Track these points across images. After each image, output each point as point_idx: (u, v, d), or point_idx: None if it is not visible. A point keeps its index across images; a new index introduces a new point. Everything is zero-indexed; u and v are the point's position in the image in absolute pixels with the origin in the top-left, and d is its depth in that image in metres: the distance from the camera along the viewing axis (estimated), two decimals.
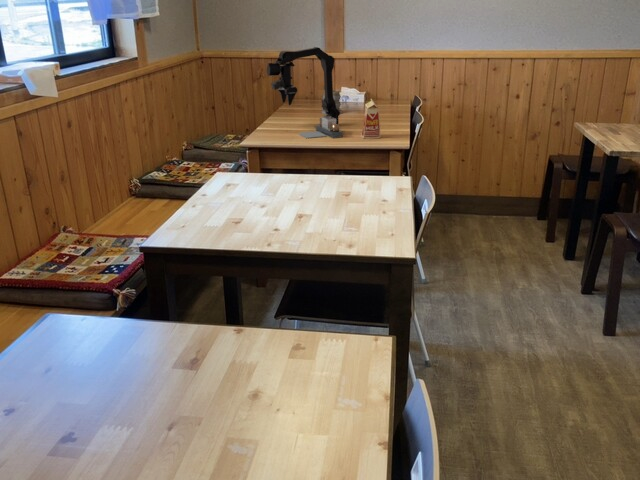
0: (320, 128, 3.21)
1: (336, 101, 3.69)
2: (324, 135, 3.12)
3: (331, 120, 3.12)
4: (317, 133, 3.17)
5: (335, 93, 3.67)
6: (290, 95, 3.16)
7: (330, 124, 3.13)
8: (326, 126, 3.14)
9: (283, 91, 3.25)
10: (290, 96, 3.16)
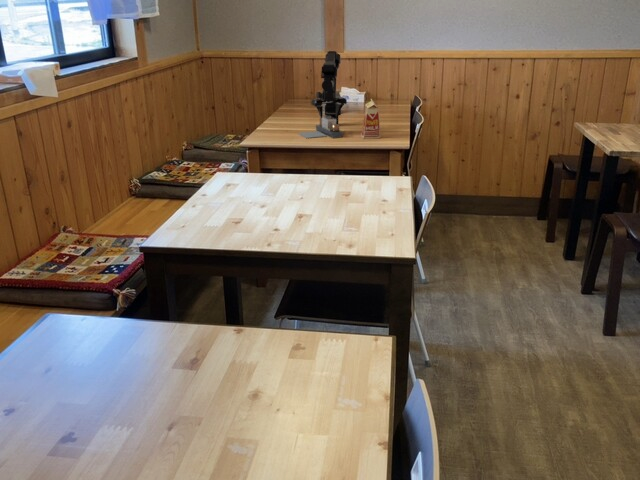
0: (320, 128, 3.21)
1: None
2: (324, 135, 3.12)
3: (331, 120, 3.12)
4: (317, 133, 3.17)
5: None
6: (319, 108, 3.11)
7: (330, 124, 3.13)
8: (326, 126, 3.14)
9: (337, 105, 3.15)
10: None
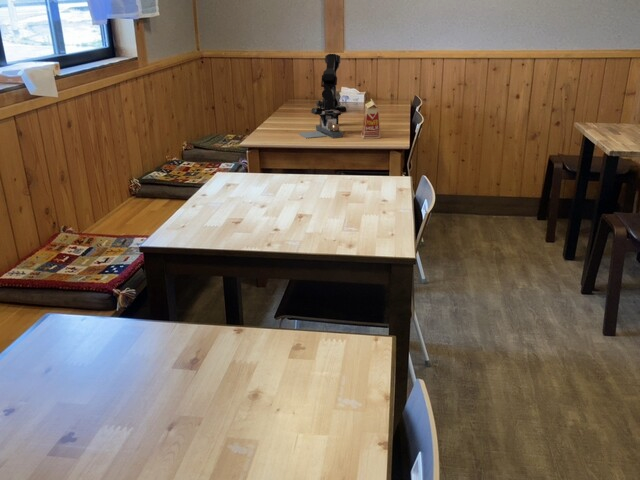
0: (320, 128, 3.21)
1: None
2: (324, 135, 3.12)
3: (331, 120, 3.12)
4: (317, 133, 3.17)
5: None
6: (322, 116, 3.13)
7: (330, 124, 3.13)
8: (326, 126, 3.14)
9: (334, 114, 3.16)
10: (322, 117, 3.14)
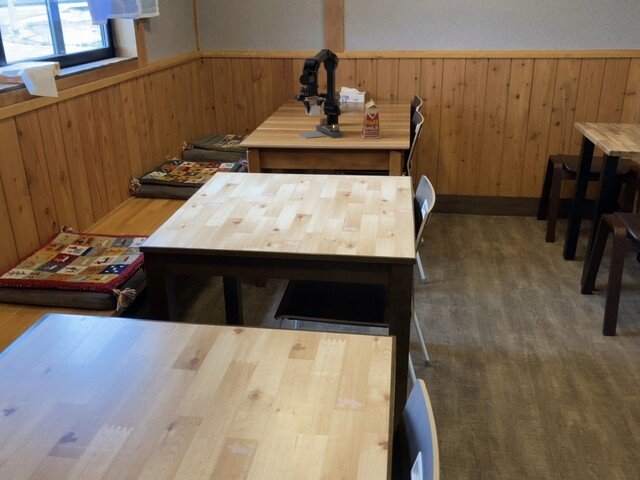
0: (320, 128, 3.21)
1: None
2: (324, 135, 3.12)
3: (315, 107, 3.05)
4: (317, 133, 3.17)
5: (335, 93, 3.67)
6: (306, 103, 3.07)
7: (314, 111, 3.06)
8: (310, 113, 3.07)
9: (318, 101, 3.09)
10: (306, 104, 3.07)
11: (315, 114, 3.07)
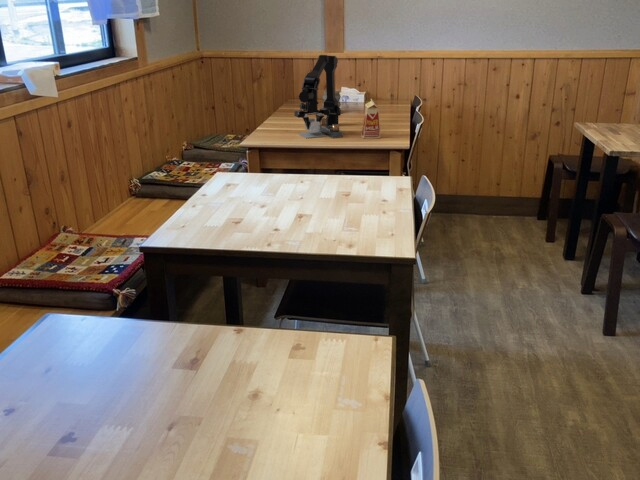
0: (320, 128, 3.21)
1: None
2: (324, 135, 3.12)
3: (314, 123, 3.09)
4: (317, 133, 3.17)
5: (335, 93, 3.67)
6: (305, 119, 3.10)
7: (313, 127, 3.09)
8: (309, 129, 3.11)
9: (317, 117, 3.12)
10: (305, 120, 3.10)
11: (315, 130, 3.10)
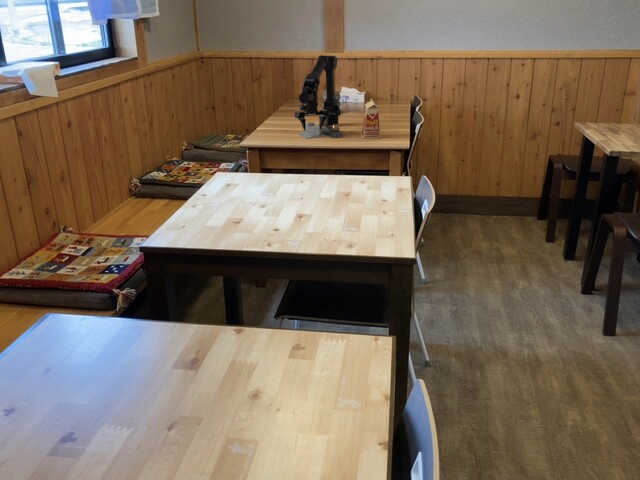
0: None
1: None
2: (324, 135, 3.12)
3: (314, 127, 3.10)
4: None
5: (335, 93, 3.67)
6: None
7: (313, 131, 3.10)
8: (309, 133, 3.12)
9: (320, 118, 3.13)
10: (302, 122, 3.10)
11: (315, 134, 3.11)
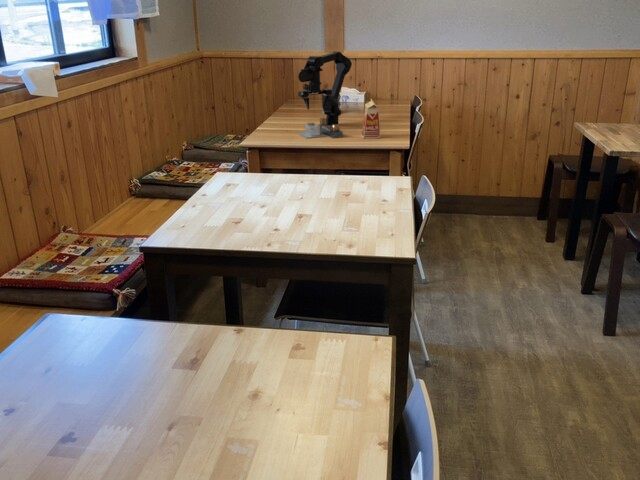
0: (320, 128, 3.21)
1: None
2: (324, 135, 3.12)
3: (314, 127, 3.10)
4: None
5: None
6: (306, 100, 3.20)
7: (313, 131, 3.10)
8: (309, 133, 3.12)
9: (323, 96, 3.24)
10: (306, 100, 3.20)
11: (315, 134, 3.11)
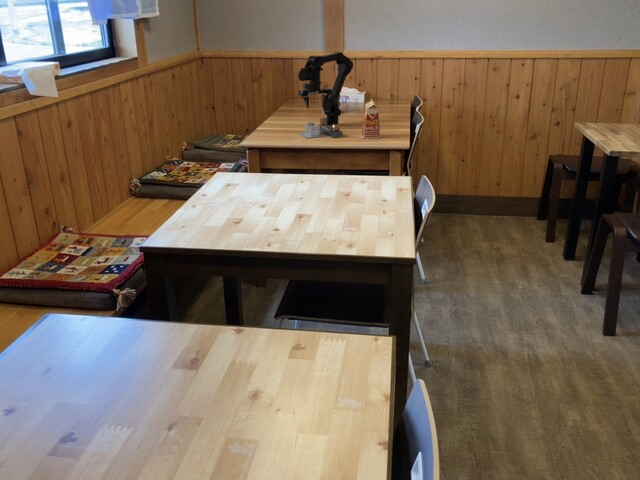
0: (320, 128, 3.21)
1: None
2: (324, 135, 3.12)
3: (314, 127, 3.10)
4: None
5: None
6: (305, 99, 3.21)
7: (313, 131, 3.10)
8: (309, 133, 3.12)
9: (323, 96, 3.25)
10: (305, 100, 3.21)
11: (315, 134, 3.11)
